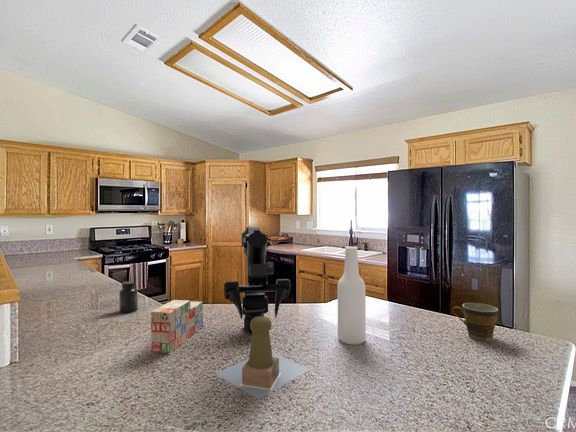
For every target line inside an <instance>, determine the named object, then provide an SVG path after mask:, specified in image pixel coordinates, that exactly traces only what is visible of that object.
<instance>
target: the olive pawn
mask: <svg viewBox="0 0 576 432" xmlns="http://www.w3.org/2000/svg"><path fill="white" fill-rule="evenodd" d="M271 328H272V321H271V319H270V317H267V316H265V315H264V316H258V317H255V318H253V319H252V320H251V322H250V329H251V331H252V333H251V338H250V340H251V341H250V349H249V355H248V356H249V357H248V358H249V363H248V364H249V366H251V367H252V368H256V369H263V368H267V367H270V366H271V365H272V364H273V357H272V353H273V352H272V351H273V350H272V344H271V337H270V331H271Z"/></svg>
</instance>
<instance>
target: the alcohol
mask: <svg viewBox="0 0 576 432" xmlns="http://www.w3.org/2000/svg"><path fill="white" fill-rule="evenodd" d="M344 249H345V250H344V269H343V275H341V277H340V278H339V280H338V282H337V338H338V340H339V342H341V343H342V344H345V345H351V346H359V345H362V344H364V342H365V340H366V338H367V337H366V336H367V335H366V334H367V333H366V332H367V331H366V330H367V329H366V325H367V324H366V321H367V320H366V319H367V318H366V312H367V311H366V306H367V305H366V304H367V302H366V296H367V295H366V282H365V280H364V279H363V278H362V277H361V275H360V271H359V259H358V258H359V257H358V252H359V251H358V249H359V248H358V247H357V246H354V245H353V246H349V245H348V246H345V247H344Z"/></svg>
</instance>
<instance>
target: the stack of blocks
mask: <svg viewBox="0 0 576 432" xmlns="http://www.w3.org/2000/svg"><path fill="white" fill-rule="evenodd" d="M203 306H204V305H203V301H191V300H187V299H184V300H183V299H182V300H181V299H180V300H179V299H172V300H171V301H168V302H167V303H165V304H163V305H161V306H160V307H157V308H155V309H153V310H151V313H150V318H151V319H150V320H151V322H150V330H151V333H150V334H151V344H150V345H151V352H155V353H168V354H170V352H171V353H172V352H173V351H175V350H176V349H178V348H179V347H180V346H181V345H183V344H184V343H185V342H186V341H187V340H188V339H189V338H188V337H189V336H191V335H192V334H193V333H194V334H196V333H197V332H198V330H199V329H200V328H201V327H202V328H203V327H204V310H203V309H204V308H203ZM202 328H201V329H202ZM201 329H200V330H201ZM200 330H199V331H200ZM196 331H197V332H196ZM195 332H196V333H195ZM194 334H193V335H194ZM193 335H192V336H193ZM192 336H191V337H192ZM187 338H188V339H187ZM186 339H187V340H186ZM185 340H186V341H185ZM184 341H185V342H184ZM183 342H184V343H183ZM182 343H183V344H182ZM180 344H181V345H180ZM179 345H180V346H179ZM178 346H179V347H178ZM175 348H176V349H175ZM174 349H175V350H174Z"/></svg>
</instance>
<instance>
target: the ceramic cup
mask: <svg viewBox="0 0 576 432" xmlns="http://www.w3.org/2000/svg"><path fill="white" fill-rule="evenodd" d="M455 309H458V310H460V311H461V313H462V314H463V316H464V320H463V319H462V317H461V316H459V315H457V313H455V312H454V310H455ZM451 310H452V311H451V312H452V313H453V314H454V315H455V317H457V318H458V319H459V320H460V321H461V322H462V323H463V324H464V326H465V327H466V329H467V330H466V331H467V336H468V338H471V339H472V340H475V341H480V342H484V343H485V342H491V341H493V338H494V332H495V328H496V327H495V326H496V323H497V319H498V315H499V309H498V308H497V307H495V306H493V305H491V304H485V303H479V302H466V303H463V304H462V307H460V306H458V305H457V306H454V307H453V308H452V309H451Z"/></svg>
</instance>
